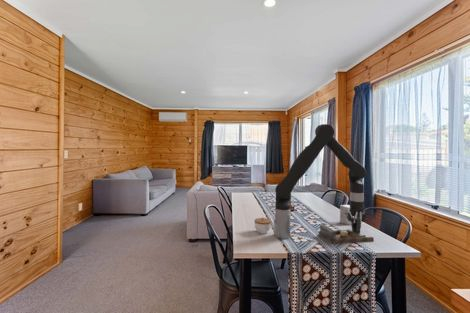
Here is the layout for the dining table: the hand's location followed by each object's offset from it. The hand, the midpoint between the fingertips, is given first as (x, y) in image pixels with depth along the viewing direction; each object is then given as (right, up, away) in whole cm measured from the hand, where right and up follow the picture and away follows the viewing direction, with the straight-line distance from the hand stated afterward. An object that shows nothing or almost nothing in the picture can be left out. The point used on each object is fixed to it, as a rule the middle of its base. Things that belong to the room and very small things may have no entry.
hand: (356, 228), depth 141 cm
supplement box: (+11, -6, +33) cm, 36 cm away
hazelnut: (-8, -5, -1) cm, 9 cm away
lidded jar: (-55, -6, +11) cm, 56 cm away
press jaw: (0, -5, 0) cm, 5 cm away
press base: (-7, -7, -1) cm, 10 cm away
